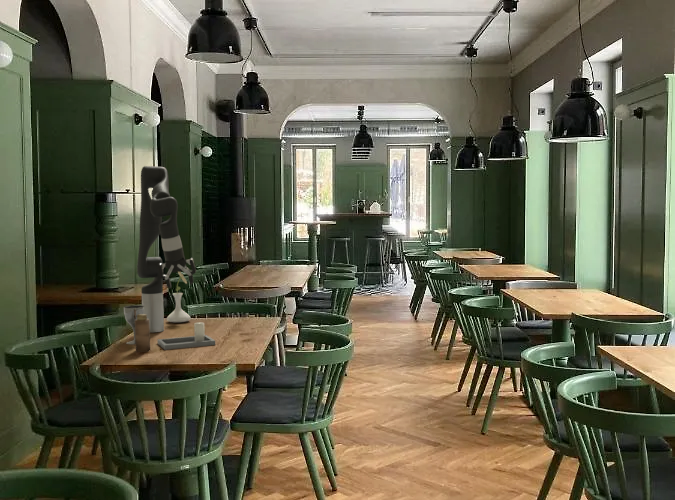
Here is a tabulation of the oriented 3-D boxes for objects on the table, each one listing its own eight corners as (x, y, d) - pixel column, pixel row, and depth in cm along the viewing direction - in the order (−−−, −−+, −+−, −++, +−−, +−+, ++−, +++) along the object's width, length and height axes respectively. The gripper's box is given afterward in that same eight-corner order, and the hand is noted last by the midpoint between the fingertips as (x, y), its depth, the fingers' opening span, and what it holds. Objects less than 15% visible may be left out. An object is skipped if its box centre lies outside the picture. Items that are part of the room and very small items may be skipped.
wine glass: (127, 345, 302) (126, 308, 300) (123, 342, 309) (122, 306, 308) (147, 343, 305) (145, 306, 304) (142, 340, 312) (141, 304, 311)
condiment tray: (157, 345, 300) (157, 339, 300) (206, 340, 308) (206, 334, 308) (164, 351, 287) (164, 345, 287) (215, 346, 295) (215, 340, 295)
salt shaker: (193, 342, 301) (193, 322, 300) (203, 341, 302) (202, 322, 302) (196, 344, 297) (195, 324, 297) (205, 343, 299) (205, 323, 298)
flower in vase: (188, 323, 352) (186, 271, 350) (164, 324, 352) (162, 271, 350) (193, 319, 365) (192, 268, 363) (170, 319, 365) (168, 268, 363)
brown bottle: (134, 349, 292) (133, 314, 291) (148, 348, 294) (147, 313, 293) (137, 352, 287) (135, 316, 286) (151, 351, 289) (150, 315, 288)
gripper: (191, 242, 298) (199, 280, 302) (156, 247, 298) (164, 285, 302) (189, 247, 291) (197, 286, 295) (153, 252, 290) (161, 291, 295)
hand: (180, 285), depth 299 cm, fingers open, 8 cm apart
